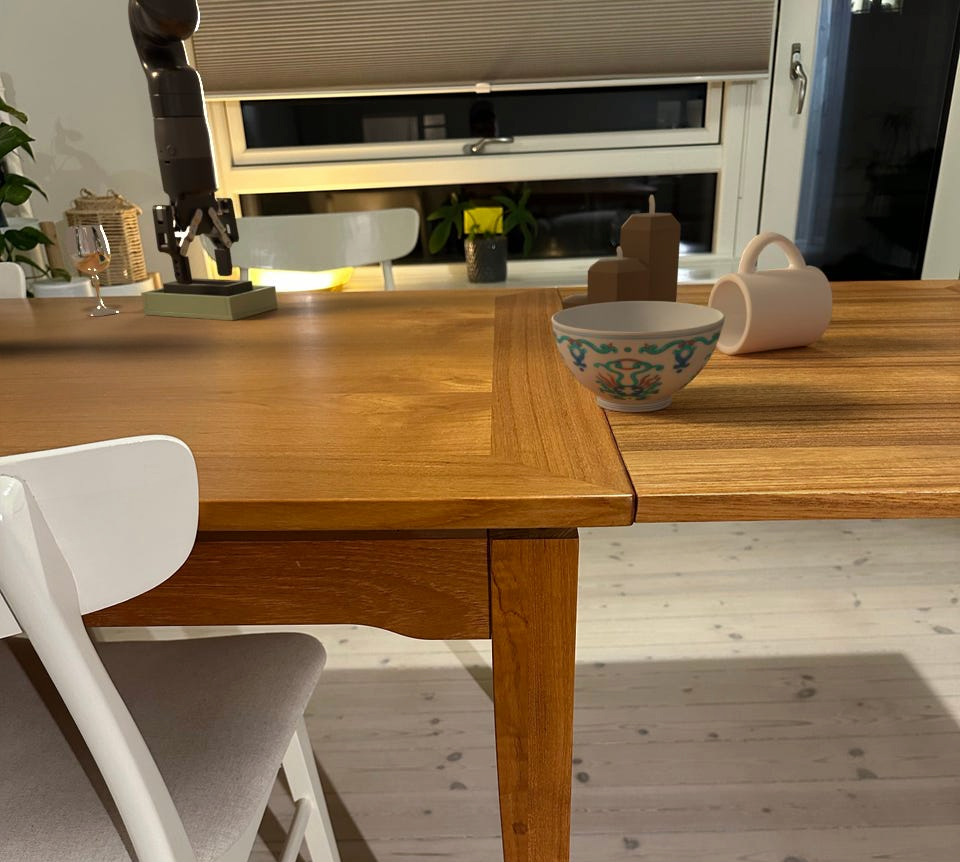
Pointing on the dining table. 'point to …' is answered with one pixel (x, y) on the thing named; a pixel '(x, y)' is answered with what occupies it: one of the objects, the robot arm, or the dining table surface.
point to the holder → (210, 304)
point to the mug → (771, 301)
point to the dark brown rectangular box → (210, 287)
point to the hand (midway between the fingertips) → (205, 280)
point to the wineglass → (90, 256)
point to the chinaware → (636, 349)
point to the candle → (637, 263)
